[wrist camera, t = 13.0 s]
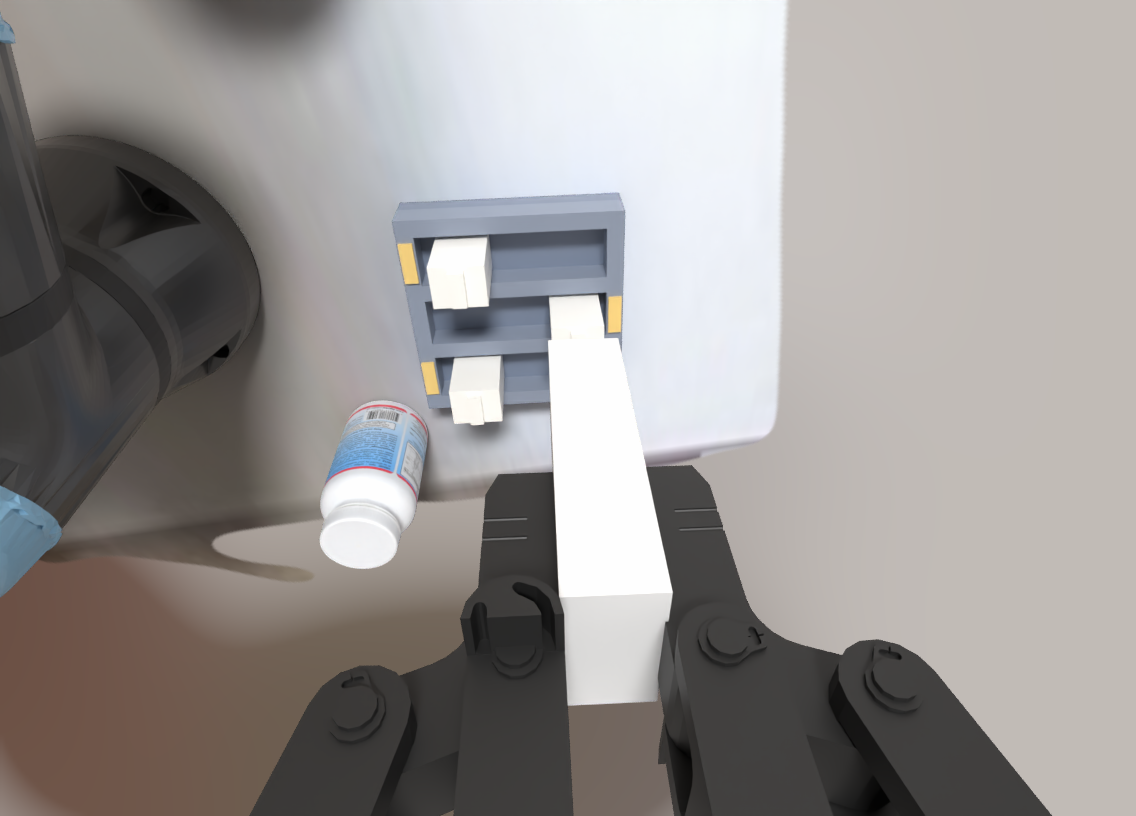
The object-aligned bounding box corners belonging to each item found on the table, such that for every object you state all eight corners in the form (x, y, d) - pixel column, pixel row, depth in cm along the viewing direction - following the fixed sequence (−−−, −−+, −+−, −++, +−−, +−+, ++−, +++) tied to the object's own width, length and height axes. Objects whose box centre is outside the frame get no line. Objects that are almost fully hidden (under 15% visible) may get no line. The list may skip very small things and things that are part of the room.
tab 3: (550, 321, 42) (553, 369, 37) (548, 288, 40) (551, 333, 36) (596, 319, 42) (604, 366, 37) (596, 285, 40) (605, 330, 36)
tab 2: (460, 377, 44) (453, 428, 39) (456, 347, 42) (448, 397, 38) (504, 375, 44) (502, 425, 39) (501, 345, 42) (498, 394, 38)
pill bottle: (333, 438, 48) (289, 555, 39) (370, 383, 45) (332, 495, 36) (405, 471, 51) (380, 588, 42) (444, 421, 48) (426, 535, 39)
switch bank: (434, 383, 46) (428, 410, 43) (400, 202, 38) (391, 223, 35) (615, 373, 46) (620, 399, 43) (618, 192, 38) (625, 211, 36)
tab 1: (443, 269, 39) (432, 313, 35) (437, 231, 38) (425, 272, 33) (492, 266, 39) (488, 310, 35) (488, 229, 38) (483, 269, 33)
